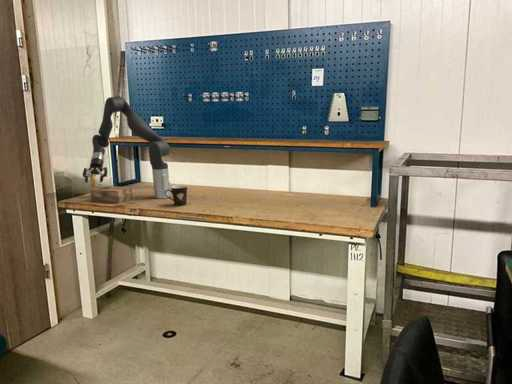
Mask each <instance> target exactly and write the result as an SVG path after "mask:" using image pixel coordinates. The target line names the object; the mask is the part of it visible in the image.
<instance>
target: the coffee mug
mask: <svg viewBox="0 0 512 384" xmlns="http://www.w3.org/2000/svg"><path fill="white" fill-rule="evenodd" d="M167 191H170V192H171V195H172V198H171V197H168V196H167V195H166V194H165V196H166V197H168V199H169V200H172V201H173V203H174V204H173V205H174V206H176V207H183V206H186V205H187V201H188V200H187V198H188V197H187V196H188V185H184V184H182V185H181V184H177V185H173V186H171V190H166V191H165V193H166V192H167Z"/></svg>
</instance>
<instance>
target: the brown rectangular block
mask: <svg viewBox="0 0 512 384" xmlns="http://www.w3.org/2000/svg"><path fill="white" fill-rule="evenodd" d="M89 192H90V198H91V201H90V202H92V201H95V202H96V203H108V204H121V203H124V202H127V201H130V200H132V199H133V189H132V187H131V186H116V185H115V186H114V185H113V186H112V185H110V186H109V185H103V186H99V187H97V188H95V189H90V190H89ZM95 202H94V203H95Z"/></svg>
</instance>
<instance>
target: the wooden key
mask: <svg viewBox="0 0 512 384" xmlns="http://www.w3.org/2000/svg"><path fill="white" fill-rule="evenodd" d="M90 174H91V173H90ZM97 180H98V179H97V175H96V174H91V175H90V177H89V181H90V182H89V183H90V188H91V189H95V188H98V181H97ZM91 189H90V190H91Z"/></svg>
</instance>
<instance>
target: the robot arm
mask: <svg viewBox="0 0 512 384" xmlns="http://www.w3.org/2000/svg"><path fill="white" fill-rule="evenodd" d="M114 113H122V114H123V115H124V116H125V117H126V123H127V127H128V128H129V129H130V131H132V133H133V134H134V135H135V136H136V137H138V138H140V139H142V140H145V141H147V142H148V143H149V145H148V157H149V163H150V165H151V172H152V174H151V175H152V181H153V182H152V183H153V195H154V199H167V198H168V197H170V198H171V197H172V193H171V192H170V191H167V192H166V193H165V191H166V190H172V189H171V187H172V186H171V180H170V174H169V165H168V163H167V162H165V161H164V160H163V161H164V162H163V161H162V157H163V158H164V157H166V156H168V155H169V154H170V152H171V149H170V145H169V144H168V143H167V142H166V140H164V139H163V138H162V137H160V136H159V135H158V134H157V133H156V132H155V131H154V130H153V129H152V128H151V127H150V126H149V125H148V124H147V122H145V121H144V120H143V119H142V117H140V116H139V114H138V113H136V112H135V111H134V108H132V107H131V105H130V104H129V103H128V102H127V101H126V99H125V98H124V97H122V96H119V95H118V96H110V97H108V98H106V100H105V103H104V109H103V115H102V120H101V123H100V126H99V128H98V129H99V130H98V134H95V135H93V136H92V138H91V140H92V148H93V150H92V155H91V158H90V165H89V168H86V167H84V168H83V171H82V177H83V178H84V182H85V183H86V184H88V182H89V180H90V175H91V174H96V176H98V175H99V176H100V177H99V182H100V183H103V182H104V178H105V177H106V178H107V177H108V168H107V166H104V162H105V153H106V149H105V148H108V147H109V145H110V141H109V142H108V139H109V140H110V135H111V132H112V130H113V124H114V123H113V120H112V116H113V114H114ZM103 171H104V172H103ZM165 194H166V195H167V196H168V197H166V196H165ZM168 199H169V198H168Z"/></svg>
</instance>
